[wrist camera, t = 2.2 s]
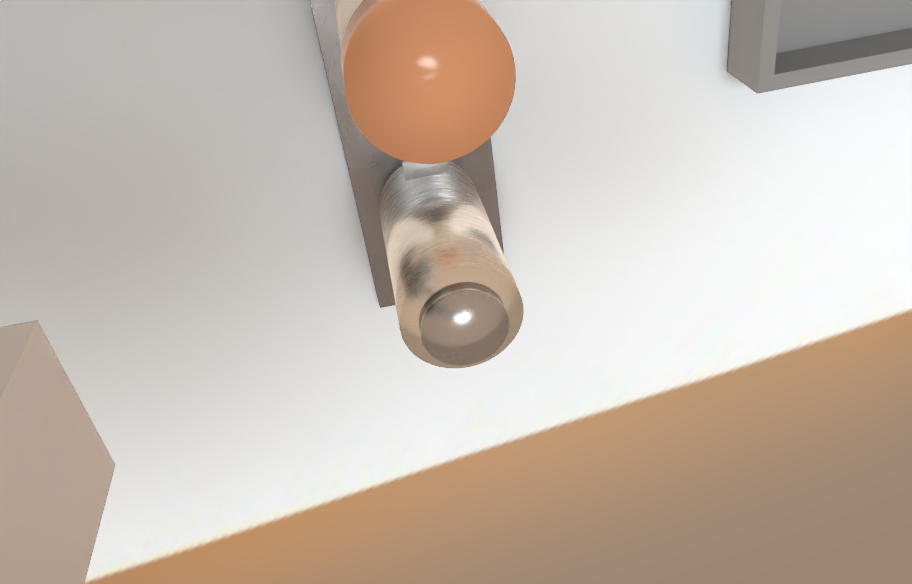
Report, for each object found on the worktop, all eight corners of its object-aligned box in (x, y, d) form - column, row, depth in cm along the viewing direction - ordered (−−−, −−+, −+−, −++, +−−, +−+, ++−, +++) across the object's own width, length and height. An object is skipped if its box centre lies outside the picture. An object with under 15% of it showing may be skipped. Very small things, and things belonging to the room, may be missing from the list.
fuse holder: (379, 302, 35) (401, 449, 27) (188, -534, 20) (124, -704, 13) (504, 277, 35) (560, 415, 28) (408, -564, 20) (471, -746, 13)
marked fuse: (344, 55, 28) (363, 177, 20) (317, -69, 26) (327, 12, 18) (457, 34, 29) (522, 146, 20) (441, -90, 26) (507, -20, 18)
